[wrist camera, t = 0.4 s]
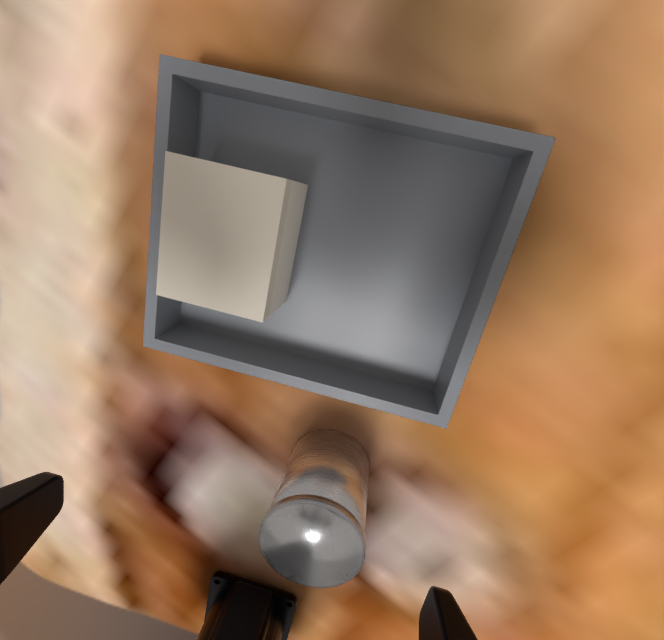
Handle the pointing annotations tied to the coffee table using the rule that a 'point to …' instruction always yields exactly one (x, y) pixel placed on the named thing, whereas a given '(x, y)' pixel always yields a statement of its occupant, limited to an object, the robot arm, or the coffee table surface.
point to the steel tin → (319, 512)
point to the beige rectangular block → (227, 236)
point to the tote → (352, 235)
